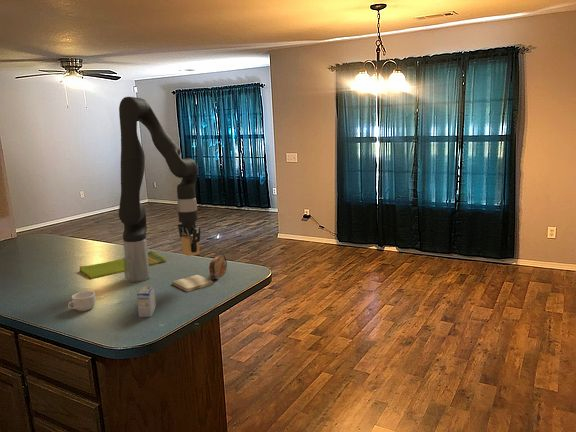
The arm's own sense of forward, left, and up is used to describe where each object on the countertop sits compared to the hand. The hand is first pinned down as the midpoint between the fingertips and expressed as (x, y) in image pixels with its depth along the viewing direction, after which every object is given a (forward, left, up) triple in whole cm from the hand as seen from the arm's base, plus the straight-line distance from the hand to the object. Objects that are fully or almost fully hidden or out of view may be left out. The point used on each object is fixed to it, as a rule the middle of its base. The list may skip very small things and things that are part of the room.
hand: (190, 250), depth 185 cm
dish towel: (-11, +44, -15) cm, 48 cm away
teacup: (-42, +5, -15) cm, 45 cm away
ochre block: (0, 0, -1) cm, 1 cm away
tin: (+13, +1, -15) cm, 20 cm away
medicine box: (-26, -14, -15) cm, 33 cm away
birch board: (0, 0, -14) cm, 14 cm away
